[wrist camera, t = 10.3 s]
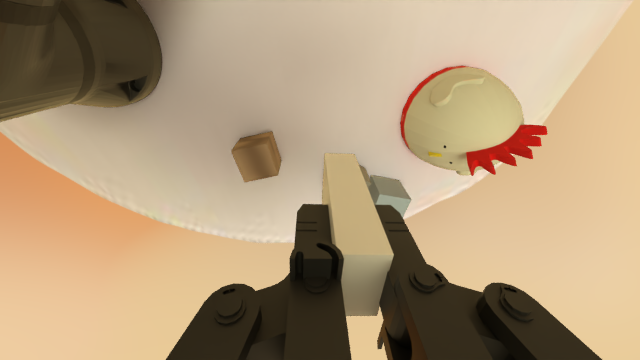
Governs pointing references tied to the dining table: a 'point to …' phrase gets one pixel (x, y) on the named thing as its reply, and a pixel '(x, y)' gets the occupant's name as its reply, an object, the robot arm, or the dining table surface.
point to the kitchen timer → (466, 122)
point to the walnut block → (257, 156)
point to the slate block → (389, 193)
